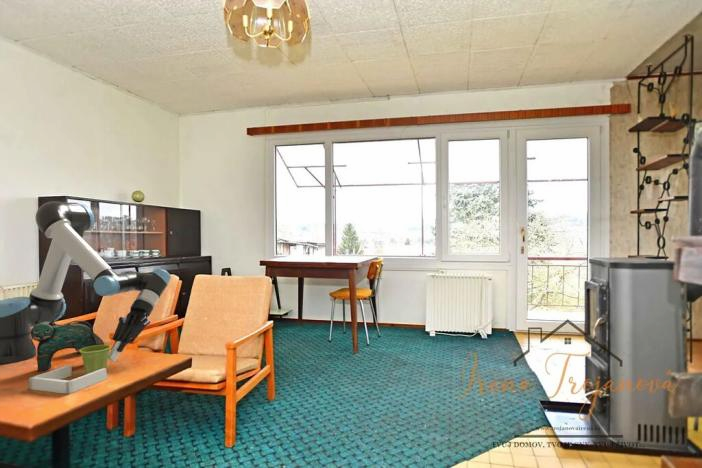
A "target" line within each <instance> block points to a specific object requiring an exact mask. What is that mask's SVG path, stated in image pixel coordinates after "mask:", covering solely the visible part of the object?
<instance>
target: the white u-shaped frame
mask: <svg viewBox="0 0 702 468" xmlns="http://www.w3.org/2000/svg"><path fill="white" fill-rule="evenodd" d="M72 367H73V366H72V365H71V364H68V365H65V366H62V367H58V368H55V369H52V370H50V371H49V370H48V371H45V372H44V373H41V374H40V373H39V374H37V375H33V376H31V377H29V378H28V382H29V385H28V388H29V390H32V391H42V392H49V393H58V394H67V395H70V394H72V393H75V392H79V391H81V390H82V389H86V388H89V387H90V386H93V385H95V384H98V383H101V382H104V381H105V380H107V379H108V378H107V374H108V373H107V367H106V368H103V369H100V370H97V371H95V372H92V373H89V374H87V375H85V374H84V375H82V376H79V377H76V378H73V379H70V380H67V379H66V378H68V377H71V376H73V375H72V374H73V373H72V372H73V371H72V370H73V369H72ZM65 379H66V380H65Z"/></svg>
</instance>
